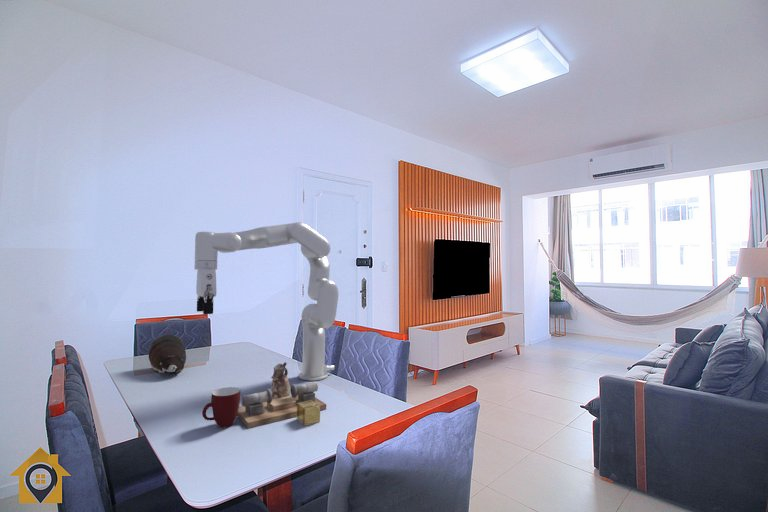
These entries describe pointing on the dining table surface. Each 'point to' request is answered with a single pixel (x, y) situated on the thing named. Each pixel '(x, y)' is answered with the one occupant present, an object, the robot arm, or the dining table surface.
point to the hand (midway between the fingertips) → (204, 312)
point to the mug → (224, 406)
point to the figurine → (280, 382)
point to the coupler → (308, 412)
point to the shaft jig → (275, 405)
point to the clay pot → (167, 354)
